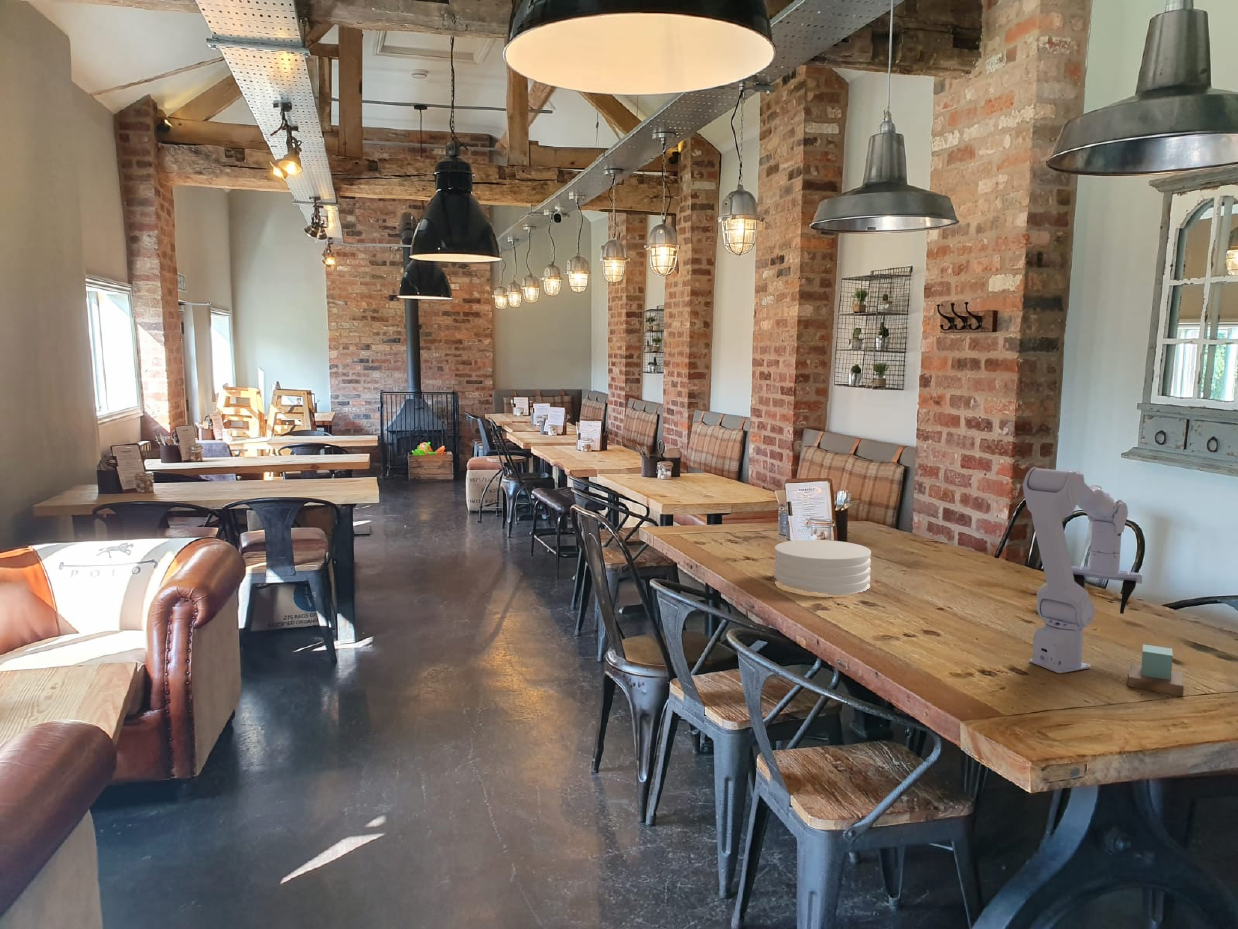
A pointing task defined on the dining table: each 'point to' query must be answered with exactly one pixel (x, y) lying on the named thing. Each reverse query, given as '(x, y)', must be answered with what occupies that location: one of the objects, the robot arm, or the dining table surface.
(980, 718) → the dining table surface
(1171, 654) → the teal cube
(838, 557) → the plate stack
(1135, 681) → the walnut base
